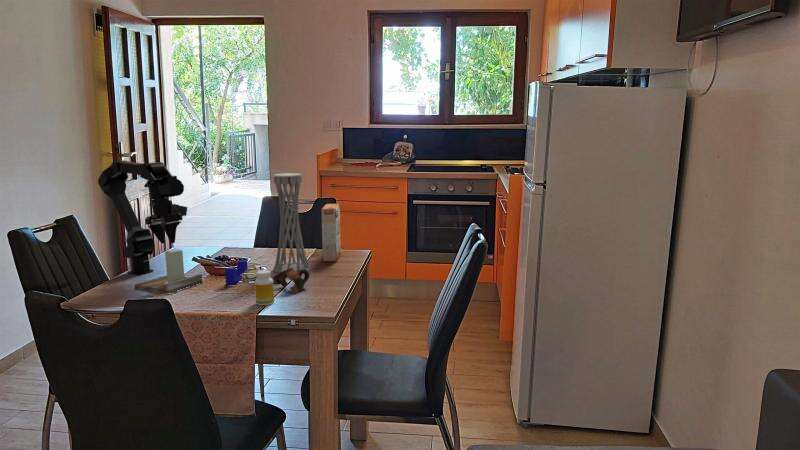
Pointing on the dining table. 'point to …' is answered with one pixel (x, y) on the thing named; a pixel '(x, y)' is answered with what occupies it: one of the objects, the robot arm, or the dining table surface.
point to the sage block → (174, 265)
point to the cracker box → (331, 232)
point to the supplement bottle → (264, 288)
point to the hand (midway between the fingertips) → (167, 243)
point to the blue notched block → (235, 273)
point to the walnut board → (169, 284)
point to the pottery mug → (292, 276)
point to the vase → (289, 224)
